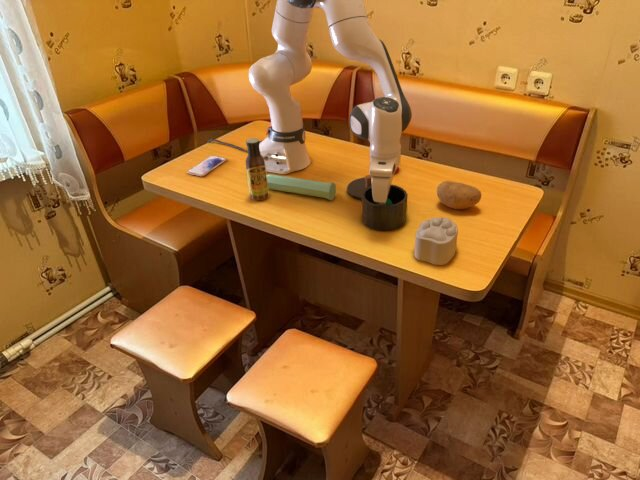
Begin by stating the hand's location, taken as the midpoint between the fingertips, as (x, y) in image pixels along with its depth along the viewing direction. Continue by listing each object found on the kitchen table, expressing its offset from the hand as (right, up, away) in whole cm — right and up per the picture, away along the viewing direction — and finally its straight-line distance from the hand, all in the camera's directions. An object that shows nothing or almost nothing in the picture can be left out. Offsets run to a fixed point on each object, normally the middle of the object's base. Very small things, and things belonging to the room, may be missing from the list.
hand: (384, 200), depth 149 cm
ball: (0, -3, +3) cm, 4 cm away
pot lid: (-4, +6, +18) cm, 20 cm away
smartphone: (-64, +17, +34) cm, 75 cm away
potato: (+24, -1, +9) cm, 26 cm away
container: (-28, +5, +18) cm, 34 cm away
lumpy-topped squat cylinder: (+14, -16, -9) cm, 23 cm away
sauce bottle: (-41, +3, +16) cm, 44 cm away
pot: (0, -5, +4) cm, 7 cm away
